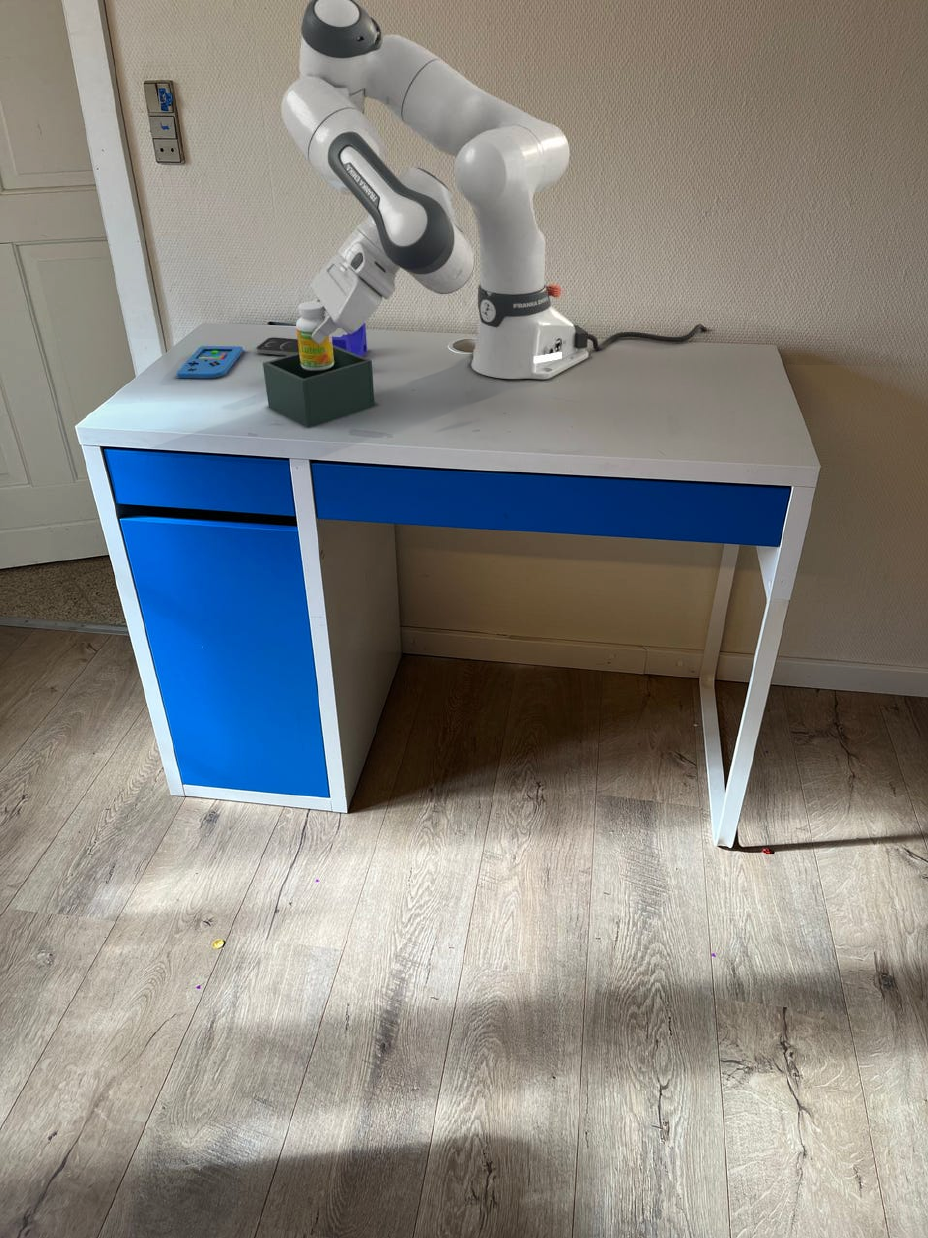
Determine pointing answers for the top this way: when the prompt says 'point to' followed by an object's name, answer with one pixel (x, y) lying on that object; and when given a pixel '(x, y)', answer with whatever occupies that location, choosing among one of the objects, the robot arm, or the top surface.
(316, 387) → the bin
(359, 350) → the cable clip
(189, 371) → the handheld gaming device
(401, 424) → the top surface
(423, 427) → the top surface
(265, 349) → the smartphone
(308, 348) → the supplement bottle
